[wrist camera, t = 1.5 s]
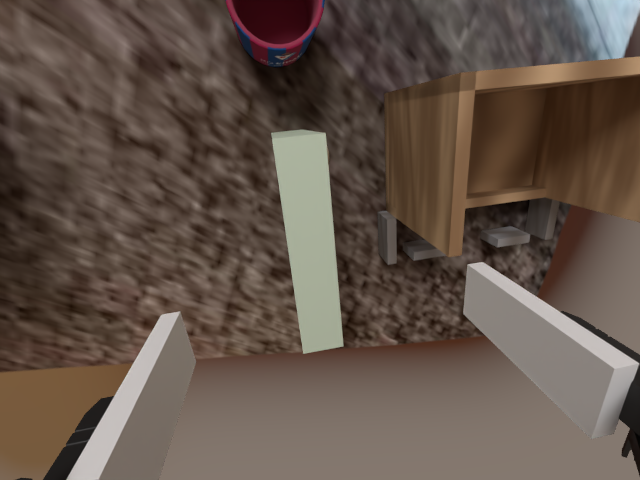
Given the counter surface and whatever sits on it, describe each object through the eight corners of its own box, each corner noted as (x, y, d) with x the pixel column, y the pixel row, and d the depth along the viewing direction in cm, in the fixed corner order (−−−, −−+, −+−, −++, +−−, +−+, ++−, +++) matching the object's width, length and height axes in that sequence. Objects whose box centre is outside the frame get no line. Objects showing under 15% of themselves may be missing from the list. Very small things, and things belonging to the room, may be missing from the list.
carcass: (378, 253, 36) (432, 318, 24) (374, 94, 30) (444, 74, 18) (531, 230, 38) (651, 278, 26) (558, 76, 32) (731, 48, 20)
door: (326, 264, 36) (359, 343, 23) (291, 269, 35) (303, 353, 22) (313, 128, 30) (346, 130, 17) (271, 132, 30) (272, 138, 17)
